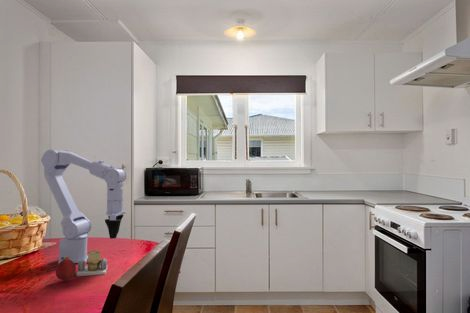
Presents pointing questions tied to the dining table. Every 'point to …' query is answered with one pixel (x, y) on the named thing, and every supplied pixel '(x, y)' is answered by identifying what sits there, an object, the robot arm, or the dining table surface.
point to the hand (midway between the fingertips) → (114, 235)
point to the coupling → (93, 260)
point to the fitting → (84, 271)
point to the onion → (65, 269)
